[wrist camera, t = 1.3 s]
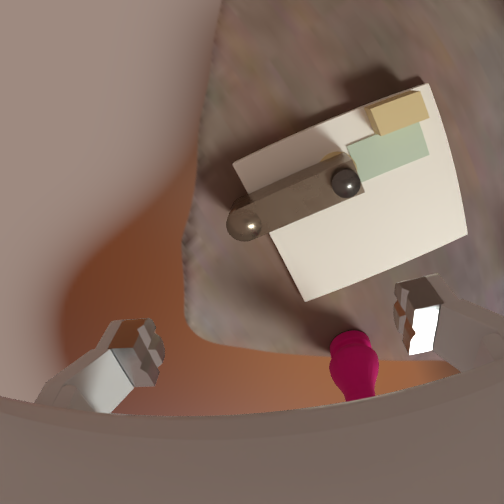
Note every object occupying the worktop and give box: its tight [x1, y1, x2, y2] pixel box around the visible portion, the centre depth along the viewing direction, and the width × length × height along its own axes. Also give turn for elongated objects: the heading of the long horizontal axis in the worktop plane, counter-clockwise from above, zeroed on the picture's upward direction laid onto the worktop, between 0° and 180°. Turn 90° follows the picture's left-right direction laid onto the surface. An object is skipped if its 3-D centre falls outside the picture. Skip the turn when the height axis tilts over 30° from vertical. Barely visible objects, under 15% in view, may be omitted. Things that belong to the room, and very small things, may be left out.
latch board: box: [232, 83, 467, 302], centre depth 34 cm, size 24×20×4 cm
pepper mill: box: [329, 330, 379, 402], centre depth 38 cm, size 7×7×20 cm
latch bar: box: [226, 152, 365, 241], centre depth 33 cm, size 14×4×5 cm, turn 117°
